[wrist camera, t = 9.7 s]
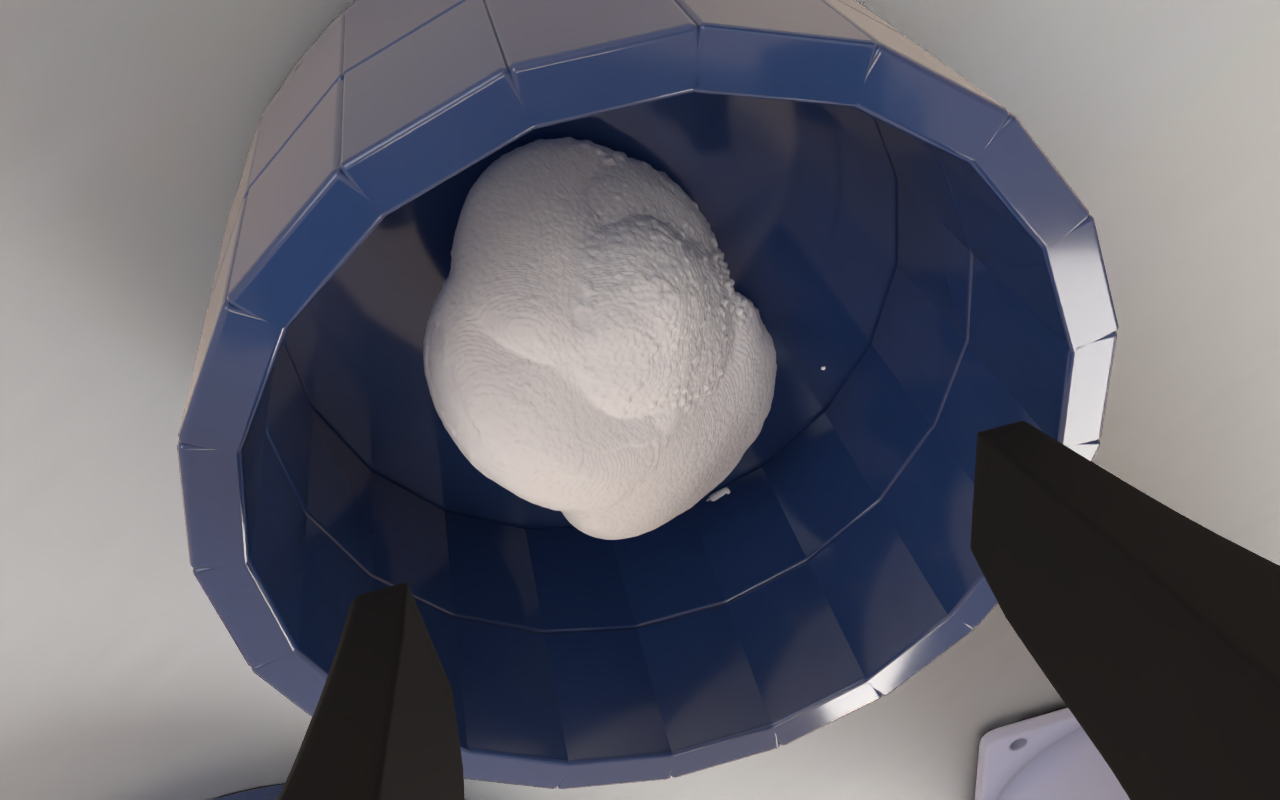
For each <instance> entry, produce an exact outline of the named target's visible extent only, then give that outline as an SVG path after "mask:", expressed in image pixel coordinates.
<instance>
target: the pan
mask: <svg viewBox="0 0 1280 800" xmlns="http://www.w3.org/2000/svg"><path fill="white" fill-rule="evenodd" d="M283 787H284V784H282V785H275V786H269V787H263V788H256V789H252V790H248V791H244V792H239V793H235V794H231V795H227V796H223V797H219V798H216V799H213V800H278V797H279V795H280V793H281V791H282V789H283Z"/></svg>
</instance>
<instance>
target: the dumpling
mask: <svg viewBox="0 0 1280 800" xmlns="http://www.w3.org/2000/svg"><path fill="white" fill-rule="evenodd" d="M717 247H718V243H717V241H716V238H715V235H714V233H713V232H712V231H711V229H710V224H709V223H708V222H707V221H706V218H705V217H704V216H703V215H702V214H701V212H700V211H699V209H698V205H697V204H696V203H695V202H693V201H692V200H691V199H690V197H689V196H688V195H687V194H686V193H685V192H684V191H683V190H682V189H681V188H680V186H679V185H678V184H676V183H675V182H673V181H672V180H671V179H670V178H669V177H668V175H667V174H666V173H665V172H663V171H657V170H655V169H653V168H652V167H651V165H650V164H647V163H646V162H644V161H641V160H636V159H634V158H628V157H627V155H626V154H625V153H624V152H619V151H613V150H612V149H609V148H608V147H604V146H601V145H598V144H594V143H593V142H591V141H590V140H576V139H573V138H572V137H564V138H557V139H547V140H544V139H538V140H535V141H534V142H530V143H528V144H526V145H524V146H521V147H517V148H515V150H513V151H511V152H508V153H506V154H503V155H502V156H501V157H500V158H499V159H497V160H495V161H494V162H493V163H492V164H491V165H490V166H489V167H487V168H486V170H485V171H484V172H483V173H482V174H481V175H480V177H479V178H478V179H477V181H476V182H475V183H474V185H473V186H472V188H471V189H470V191H469V193H468V195H467V197H466V200H465V202H464V205H463V207H462V210H461V213H460V216H459V219H458V224H457V227H456V230H455V235H454V241H453V246H452V250H451V258H452V259H451V270H450V272H449V276H448V278H447V279H446V281H445V282H444V283H443V287H442V289H441V291H440V292H439V293H438V295H437V297H436V298H435V299H434V302H433V306H432V309H431V311H430V315H429V319H428V321H427V326H426V330H425V336H424V341H423V344H424V346H423V361H424V373H425V377H426V380H427V383H428V387H429V391H430V395H431V397H432V401H433V404H434V406H435V409H436V411H437V413H438V416H439V417H440V419H441V421H442V423H443V425H444V427H445V429H446V430H447V432H448V433H449V435H450V436H451V438H452V440H453V441H454V442H455V444H456V445H457V446H458V448H459V450H460V451H461V452H462V454H463V455H464V456H465V457H466V458H467V459H468V460H469V462H470V463H471V464H472V465H473V466H474V467H475V468H476V469H477V470H479V471H480V472H481V473H482V474H483V475H484V476H486V477H487V478H489V479H491V480H493V481H494V482H496V483H497V484H499V485H500V486H502V487H504V488H505V489H507V490H509V491H510V492H512V493H513V494H515V495H516V496H518V497H520V498H522V499H524V500H526V501H529V502H530V503H533V504H535V505H539V506H541V507H544V508H549V509H551V510H555V511H561V512H562V513H563V515H564V516H565V518H566V519H567V520H568V521H569V523H571V524H572V525H573V526H574V527H575V528H577V529H578V530H579V531H582V532H583V533H585V534H587V535H589V536H592V537H595V538H600V539H605V540H620V539H625V538H630V537H636V536H639V535H641V534H644V533H647V532H649V531H652V530H654V529H656V528H659V527H660V526H661V525H663V524H665V523H667V522H669V521H670V520H672V519H673V518H675V517H676V516H677V515H679V514H682V513H683V512H685V511H686V510H688V509H690V508H692V507H693V506H694V505H695V504H696V503H697V502H699V501H700V500H701V499H702V498H703V497H704V496H705V495H707V494H708V493H709V492H710V491H711V490H713V489H714V488H715V487H716V486H717V485H719V484H720V483H721V482H722V481H723V480H724V479H725V478H726V477H727V476H728V475H729V474H730V473H731V472H732V470H733V469H734V468H735V467H736V465H737V464H738V462H739V461H740V460H741V458H742V456H743V454H744V453H745V451H746V450H747V449H748V448H749V446H750V445H751V444H752V443H753V442H754V441H755V440H756V438H757V436H758V435H759V434H760V432H761V430H762V427H763V423H764V421H765V418H766V417H767V416H768V413H769V411H770V409H771V403H772V400H773V397H774V388H775V378H776V371H777V364H776V351H775V348H774V343H773V340H772V337H771V336H770V334H769V333H768V331H767V330H766V328H765V325H764V324H763V322H762V320H761V318H760V314H759V310H758V309H757V308H755V307H754V306H753V303H752V302H751V300H749V299H747V298H746V297H745V296H743V295H741V294H740V293H739V292H735V291H734V287H733V285H734V283H735V281H734V280H733V279H730V277H729V274H730V270H728V269H727V266H728V264H727V263H725V262H724V261H723V259H724V253H723V252H721V250H720V249H718V248H717ZM821 369H822V370H825V366H824V367H821ZM726 493H727V494H729V493H730V490H729V489H728V488H727V487H725V488H722V489H721V490H719V491H717V492H715V493H713V494H711V495H710V496H709V498H708V499H707V500H706V501H709V500H711V501H715V500H717V499H719V498H720V497H722V496H723V495H725V494H726Z"/></svg>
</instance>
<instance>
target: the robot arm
mask: <svg viewBox="0 0 1280 800" xmlns="http://www.w3.org/2000/svg"><path fill="white" fill-rule="evenodd" d="M970 549H971V551H972V553H973V555H974V557H975V559H976V561H977V563H978V565H979V567H980V569H981V571H982V573H983V575H984V577H985V579H986V581H987V583H988V585H989V587H990V589H991V590H992V592H993V594H994V596H995V598H996V600H997V602H998V603H999V605H1000V607H1001V609H1002V611H1003V613H1004V615H1005V617H1006V618H1007V620H1008V621H1009V623H1010V624H1011V626H1012V627H1013V629H1014V630H1015V632H1016V633H1017V635H1018V636H1019V638H1020V639H1021V640H1022V642H1023V643H1024V645H1025V646H1026V648H1027V649H1028V651H1029V652H1030V654H1031V655H1032V656H1033V658H1034V659H1035V661H1036V662H1037V664H1038V665H1039V667H1040V668H1041V670H1042V671H1043V672H1044V674H1045V675H1046V677H1047V678H1048V680H1049V681H1050V682H1051V684H1052V685H1053V687H1054V688H1055V690H1056V691H1057V692H1058V694H1059V695H1060V697H1061V698H1062V700H1063V701H1064V702H1065V704H1066V705H1067V707H1068V708H1064V709H1061V710H1057V711H1054V712H1050V713H1047V714H1043V715H1040V716H1037V717H1033V718H1030V719H1026V720H1023V721H1019V722H1016V723H1012V724H1009V725H1006V726H1002V727H999V728H995V729H993V730H991V731H989V732H988V733H986V734H985V735H984V736H983V737H982V739H981V741H980V744H979V755H978V767H977V778H976V790H975V800H1280V566H1279V565H1277V564H1275V563H1273V562H1271V561H1269V560H1267V559H1265V558H1263V557H1261V556H1259V555H1257V554H1255V553H1253V552H1251V551H1249V550H1247V549H1245V548H1243V547H1241V546H1239V545H1237V544H1235V543H1233V542H1231V541H1229V540H1227V539H1225V538H1224V537H1222V536H1220V535H1218V534H1216V533H1214V532H1212V531H1210V530H1208V529H1207V528H1205V527H1203V526H1201V525H1199V524H1197V523H1196V522H1194V521H1192V520H1190V519H1188V518H1186V517H1185V516H1183V515H1181V514H1179V513H1178V512H1176V511H1174V510H1172V509H1170V508H1169V507H1167V506H1165V505H1163V504H1162V503H1160V502H1158V501H1157V500H1155V499H1153V498H1151V497H1150V496H1148V495H1146V494H1144V493H1143V492H1141V491H1139V490H1138V489H1136V488H1134V487H1133V486H1131V485H1129V484H1128V483H1126V482H1124V481H1122V480H1121V479H1119V478H1118V477H1116V476H1114V475H1113V474H1111V473H1109V472H1108V471H1106V470H1104V469H1103V468H1101V467H1099V466H1098V465H1096V464H1094V463H1093V462H1091V461H1089V460H1088V459H1086V458H1085V457H1083V456H1081V455H1080V454H1078V453H1076V452H1075V451H1073V450H1072V449H1070V448H1068V447H1067V446H1065V445H1063V444H1062V443H1060V442H1059V441H1057V440H1055V439H1054V438H1052V437H1050V436H1049V435H1047V434H1045V433H1044V432H1042V431H1040V430H1039V429H1037V428H1035V427H1034V426H1032V425H1030V424H1029V423H1027V422H1025V421H1019V422H1016V423H1012V424H1008V425H1004V426H1000V427H997V428H993V429H989V430H985V431H981V432H977V445H976V461H975V478H974V494H973V511H972V527H971V544H970ZM278 800H464V778H463V763H462V756H461V748H460V741H459V734H458V727H457V720H456V713H455V706H454V700H453V693H452V688H451V686H450V683H449V681H448V678H447V676H446V674H445V671H444V669H443V666H442V664H441V662H440V659H439V657H438V654H437V652H436V650H435V647H434V645H433V642H432V640H431V638H430V635H429V633H428V630H427V628H426V626H425V623H424V621H423V618H422V616H421V614H420V611H419V609H418V606H417V604H416V602H415V599H414V597H413V594H412V592H411V590H410V587H409V585H408V582H406V583H402V584H398V585H394V586H390V587H387V588H383V589H379V590H375V591H371V592H368V593H364V594H360V595H357V596H356V597H355V599H354V600H353V602H352V603H351V605H350V608H349V611H348V615H347V618H346V622H345V625H344V628H343V632H342V635H341V638H340V641H339V644H338V647H337V650H336V653H335V656H334V659H333V662H332V665H331V668H330V671H329V674H328V677H327V679H326V682H325V685H324V688H323V691H322V693H321V696H320V699H319V702H318V704H317V707H316V709H315V712H314V714H313V717H312V719H311V722H310V724H309V727H308V729H307V732H306V735H305V737H304V740H303V742H302V745H301V747H300V750H299V752H298V755H297V757H296V759H295V762H294V764H293V767H292V769H291V771H290V773H289V776H288V778H287V780H286V782H285V784H284V787H283V789H282V791H281V793H280V795H279V797H278Z"/></svg>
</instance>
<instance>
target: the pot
mask: <svg viewBox="0 0 1280 800" xmlns="http://www.w3.org/2000/svg"><path fill="white" fill-rule="evenodd" d="M564 137H572V138H573V139H576V140H590V141H591V142H593V143H594V144H598V145H601V146H604V147H608V148H609V149H612V150H613V151H619V152H624V153H625V154H626V155H627V157H628V158H634V159H636V160H641V161H644V162H646V163H647V164H650V165H651V167H652V168H653V169H655V170H657V171H663V172H665V173H666V174H667V175H668V177H669V178H670V179H671V180H672V181H673V182H675V183H676V184H678V185H679V186H680V188H681V189H682V190H683V191H684V192H685V193H686V194H687V195H688V196H689V197H690V199H691V200H692V201H693V202H695V203H696V204H697V205H698V209H699V211H700V212H701V214H702V215H703V216H704V217H705V218H706V221H707V222H708V223H709V224H710V229H711V231H712V232H713V233H714V235H715V238H716V241H717V243H718V247H717V248H718V249H720V250H721V252H723V253H724V259H723V261H724V262H725V263H727V264H728V266H727V269H728V270H730V274H729V277H730V279H733V280H734V281H735V283H734V285H733V287H734V291H735V292H739V293H740V294H741V295H743V296H745V297H746V298H747V299H749V300H751V302H752V303H753V306H754V307H755V308H757V309H758V310H759V314H760V318H761V320H762V322H763V324H764V325H765V328H766V330H767V331H768V333H769V334H770V336H771V337H772V340H773V343H774V348H775V351H776V364H777V371H776V378H775V388H774V397H773V400H772V403H771V409H770V411H769V413H768V416H767V417H766V418H765V421H764V423H763V427H762V430H761V432H760V434H759V435H758V436H757V438H756V440H755V441H754V442H753V443H752V444H751V445H750V446H749V448H748V449H747V450H746V451H745V453H744V454H743V456H742V458H741V460H740V461H739V462H738V464H737V465H736V467H735V468H734V469H733V470H732V472H731V473H730V474H729V475H728V476H727V477H726V478H725V479H724V480H723V481H722V482H721V483H720V484H719V485H717V486H716V487H715V488H714V489H713V490H711V491H710V492H709V493H708V494H707V495H705V496H704V497H703V498H702V499H701V500H700V501H699V502H697V503H696V504H695V505H694V506H693V507H692V508H690V509H688V510H686V511H685V512H683V513H682V514H679V515H677V516H676V517H675V518H673V519H672V520H670V521H669V522H667V523H665V524H663V525H661V526H660V527H659V528H656V529H654V530H652V531H649V532H647V533H644V534H641V535H639V536H636V537H630V538H625V539H620V540H605V539H600V538H595V537H592V536H589V535H587V534H585V533H583V532H582V531H579V530H578V529H577V528H575V527H574V526H573V525H572V524H571V523H569V521H568V520H567V519H566V518H565V516H564V515H563V513H562V512H561V511H555V510H551V509H549V508H544V507H541V506H539V505H535V504H533V503H530V502H529V501H526V500H524V499H522V498H520V497H518V496H516V495H515V494H513V493H512V492H510V491H509V490H507V489H505V488H504V487H502V486H500V485H499V484H497V483H496V482H494V481H493V480H491V479H489V478H487V477H486V476H484V475H483V474H482V473H481V472H480V471H479V470H477V469H476V468H475V467H474V466H473V465H472V464H471V463H470V462H469V460H468V459H467V458H466V457H465V456H464V455H463V454H462V452H461V451H460V450H459V448H458V446H457V445H456V444H455V442H454V441H453V440H452V438H451V436H450V435H449V433H448V432H447V430H446V429H445V427H444V425H443V423H442V421H441V419H440V417H439V416H438V413H437V411H436V409H435V406H434V404H433V401H432V397H431V395H430V391H429V387H428V383H427V380H426V377H425V373H424V361H423V346H424V344H423V341H424V336H425V330H426V326H427V321H428V319H429V315H430V311H431V309H432V306H433V302H434V299H435V298H436V297H437V295H438V293H439V292H440V291H441V289H442V287H443V283H444V282H445V281H446V279H447V278H448V276H449V272H450V270H451V259H452V258H451V250H452V246H453V241H454V235H455V230H456V227H457V224H458V219H459V216H460V213H461V210H462V207H463V205H464V202H465V200H466V197H467V195H468V193H469V191H470V189H471V188H472V186H473V185H474V183H475V182H476V181H477V179H478V178H479V177H480V175H481V174H482V173H483V172H484V171H485V170H486V168H487V167H489V166H490V165H491V164H492V163H493V162H494V161H495V160H497V159H499V158H500V157H501V156H502V155H503V154H506V153H508V152H511V151H513V150H515V148H517V147H521V146H524V145H526V144H528V143H530V142H534V141H535V140H538V139H544V140H547V139H557V138H564ZM1117 330H1118V323H1117V319H1116V315H1115V310H1114V306H1113V301H1112V297H1111V293H1110V288H1109V284H1108V280H1107V275H1106V271H1105V266H1104V262H1103V258H1102V253H1101V249H1100V245H1099V240H1098V236H1097V231H1096V227H1095V223H1094V219H1093V217H1092V216H1091V215H1090V214H1089V211H1088V209H1087V207H1086V206H1085V205H1084V204H1083V202H1082V201H1081V200H1080V198H1079V197H1078V196H1077V195H1076V193H1075V192H1074V191H1073V189H1072V188H1071V187H1070V186H1069V184H1068V183H1067V182H1066V180H1065V179H1064V178H1063V177H1062V175H1061V174H1060V173H1059V171H1058V170H1057V169H1056V168H1055V166H1054V165H1053V164H1052V162H1051V161H1050V160H1049V158H1048V157H1047V156H1046V155H1045V153H1044V152H1043V151H1042V149H1041V148H1040V147H1039V146H1038V144H1037V143H1036V142H1035V140H1034V139H1033V138H1032V137H1031V135H1030V134H1029V133H1028V131H1027V130H1026V129H1025V128H1024V126H1023V125H1022V124H1021V122H1020V121H1019V120H1018V119H1017V117H1016V116H1015V115H1013V114H1012V113H1011V112H1009V111H1008V110H1007V109H1006V108H1005V107H1004V106H1002V105H1001V104H999V103H998V102H997V101H995V100H994V99H992V98H991V97H990V96H988V95H987V94H985V93H984V92H983V91H981V90H980V89H978V88H977V87H976V86H974V85H973V84H971V83H970V82H969V81H967V80H966V79H964V78H963V77H962V76H960V75H959V74H957V73H956V72H955V71H953V70H952V69H950V68H949V67H948V66H946V65H945V64H943V63H942V62H941V61H939V60H938V59H936V58H935V57H934V56H932V55H931V54H929V53H928V52H927V51H925V50H924V49H922V48H921V47H920V46H918V45H917V44H915V43H914V42H913V41H911V40H910V39H908V38H907V37H905V36H904V35H903V34H902V33H900V32H899V31H897V30H896V29H895V28H893V27H892V26H890V25H889V24H888V23H886V22H885V21H883V20H882V19H881V18H879V17H878V16H876V15H875V14H874V13H872V12H871V11H869V10H868V9H867V8H865V7H864V6H862V5H861V4H860V3H858V2H857V1H855V0H357V1H356V2H355V3H353V4H352V5H351V6H350V7H349V8H347V9H346V10H345V11H344V12H343V13H341V14H340V15H339V16H338V17H337V18H336V19H335V20H334V21H332V22H331V24H330V25H329V26H328V27H327V28H326V29H325V30H324V32H323V33H322V34H321V35H320V36H319V37H318V39H317V40H316V41H315V42H314V43H313V44H312V45H311V47H310V48H309V49H308V50H307V51H306V52H305V53H304V55H303V56H302V57H301V58H300V59H299V60H298V61H297V63H296V64H295V66H294V67H293V69H292V71H291V72H290V74H289V75H288V77H287V78H286V80H285V82H284V83H283V85H282V86H281V88H280V89H279V91H278V93H277V94H276V96H275V97H274V98H273V100H272V101H271V102H270V103H269V105H268V106H267V107H266V108H265V110H264V113H263V116H262V117H261V118H260V121H259V124H258V127H257V130H256V134H255V137H254V140H253V143H252V145H251V148H250V150H249V153H248V156H247V160H246V164H245V168H244V171H243V174H242V177H241V180H240V184H239V187H238V190H237V193H236V196H235V199H234V202H233V205H232V209H231V212H230V215H229V218H228V221H227V225H226V229H225V234H224V238H223V242H222V247H221V251H220V255H219V260H218V264H217V268H216V273H215V277H214V282H213V286H212V290H211V295H210V299H209V303H208V308H207V313H206V316H205V321H204V325H203V329H202V334H201V338H200V343H199V347H198V351H197V356H196V360H195V364H194V369H193V373H192V377H191V382H190V386H189V390H188V395H187V399H186V403H185V408H184V412H183V416H182V421H181V425H180V430H179V434H178V437H179V440H178V445H177V451H178V460H179V470H180V479H181V488H182V497H183V506H184V515H185V524H186V534H187V543H188V552H189V561H190V564H191V566H192V567H193V573H194V575H195V576H196V578H197V580H198V581H199V583H200V585H201V586H202V588H203V590H204V591H205V593H206V595H207V596H208V598H209V600H210V602H211V603H212V605H213V607H214V608H215V610H216V612H217V613H218V615H219V617H220V618H221V620H222V622H223V623H224V625H225V627H226V628H227V630H228V632H229V633H230V635H231V637H232V638H233V640H234V642H235V643H236V645H237V647H238V648H239V650H240V652H241V653H242V655H243V657H244V658H245V660H246V662H247V663H248V665H249V666H251V667H252V670H253V672H254V673H256V674H257V675H258V676H260V677H261V678H262V679H263V680H265V681H266V682H267V683H269V684H270V685H271V686H273V687H274V688H275V689H276V690H278V691H279V692H280V693H282V694H283V695H284V696H286V697H287V698H288V699H289V700H291V701H292V702H293V703H295V704H296V705H297V706H299V707H300V708H301V709H302V710H304V711H305V712H306V713H308V714H309V715H310V716H311V717H313V714H314V712H315V709H316V707H317V704H318V702H319V699H320V696H321V693H322V691H323V688H324V685H325V682H326V679H327V677H328V674H329V671H330V668H331V665H332V662H333V659H334V656H335V653H336V650H337V647H338V644H339V641H340V638H341V635H342V632H343V628H344V625H345V622H346V618H347V615H348V611H349V608H350V605H351V603H352V602H353V600H354V599H355V597H356V596H357V595H360V594H364V593H368V592H371V591H375V590H379V589H383V588H387V587H390V586H394V585H398V584H402V583H406V582H408V585H409V587H410V590H411V592H412V594H413V597H414V599H415V602H416V604H417V606H418V609H419V611H420V614H421V616H422V618H423V621H424V623H425V626H426V628H427V630H428V633H429V635H430V638H431V640H432V642H433V645H434V647H435V650H436V652H437V654H438V657H439V659H440V662H441V664H442V666H443V669H444V671H445V674H446V676H447V678H448V681H449V683H450V686H451V688H452V693H453V700H454V706H455V713H456V720H457V727H458V734H459V741H460V748H461V756H462V763H463V778H464V779H471V780H480V781H489V782H498V783H506V784H515V785H524V786H533V787H542V788H551V789H554V788H557V787H559V789H569V788H580V787H590V786H601V785H612V784H622V783H633V782H644V781H655V780H665V779H669V778H670V777H671V776H672V777H679V776H683V775H686V774H689V773H693V772H696V771H700V770H703V769H707V768H710V767H714V766H717V765H721V764H724V763H728V762H731V761H735V760H738V759H742V758H745V757H749V756H752V755H756V754H759V753H763V752H766V751H770V750H773V749H777V748H778V747H779V746H780V744H781V745H787V744H789V743H791V742H793V741H795V740H797V739H799V738H801V737H803V736H805V735H807V734H809V733H811V732H813V731H815V730H817V729H819V728H821V727H823V726H825V725H827V724H829V723H831V722H833V721H835V720H837V719H839V718H841V717H843V716H845V715H847V714H849V713H851V712H853V711H855V710H857V709H859V708H861V707H863V706H865V705H867V704H869V703H871V702H873V701H876V700H878V699H880V698H881V697H882V695H884V696H886V695H888V694H889V693H890V692H892V691H893V690H894V689H896V688H897V687H898V686H900V685H901V684H902V683H904V682H905V681H906V680H908V679H909V678H910V677H911V676H913V675H914V674H915V673H917V672H918V671H919V670H921V669H922V668H923V667H925V666H926V665H927V664H929V663H930V662H931V661H933V660H934V659H935V658H937V657H938V656H939V655H941V654H942V653H943V652H945V651H946V650H947V649H949V648H950V647H951V646H953V645H954V644H955V643H957V642H958V641H959V640H960V639H962V638H963V637H964V636H966V635H967V634H968V633H970V632H971V631H972V630H973V629H974V627H976V626H978V625H979V624H980V622H981V621H982V620H983V619H984V618H985V617H986V616H987V614H988V613H989V612H990V611H991V610H992V609H993V607H994V606H995V605H996V604H997V603H998V602H997V600H996V598H995V596H994V594H993V592H992V590H991V589H990V587H989V585H988V583H987V581H986V579H985V577H984V575H983V573H982V571H981V569H980V567H979V565H978V563H977V561H976V559H975V557H974V555H973V553H972V551H971V549H970V544H971V527H972V511H973V494H974V478H975V461H976V445H977V432H981V431H985V430H989V429H993V428H997V427H1000V426H1004V425H1008V424H1012V423H1016V422H1019V421H1025V422H1027V423H1029V424H1030V425H1032V426H1034V427H1035V428H1037V429H1039V430H1040V431H1042V432H1044V433H1045V434H1047V435H1049V436H1050V437H1052V438H1054V439H1055V440H1057V441H1059V442H1060V443H1062V444H1063V445H1065V446H1067V447H1068V448H1070V449H1072V450H1073V451H1075V452H1076V453H1078V454H1080V455H1081V456H1083V457H1085V458H1086V459H1088V460H1089V461H1092V459H1093V457H1094V455H1095V453H1096V451H1097V449H1098V447H1099V445H1100V441H1099V439H1100V437H1101V433H1102V427H1103V420H1104V414H1105V408H1106V401H1107V395H1108V389H1109V382H1110V376H1111V370H1112V364H1113V357H1114V351H1115V345H1116V338H1117V333H1116V331H1117ZM824 366H825V370H822V369H821V367H824ZM725 487H727V488H728V489H729V490H730V493H729V494H727V493H726V494H725V495H723V496H722V497H720V498H719V499H717V500H715V501H711V500H709V501H706V500H707V499H708V498H709V496H710V495H711V494H713V493H715V492H717V491H719V490H721V489H722V488H725Z"/></svg>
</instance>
